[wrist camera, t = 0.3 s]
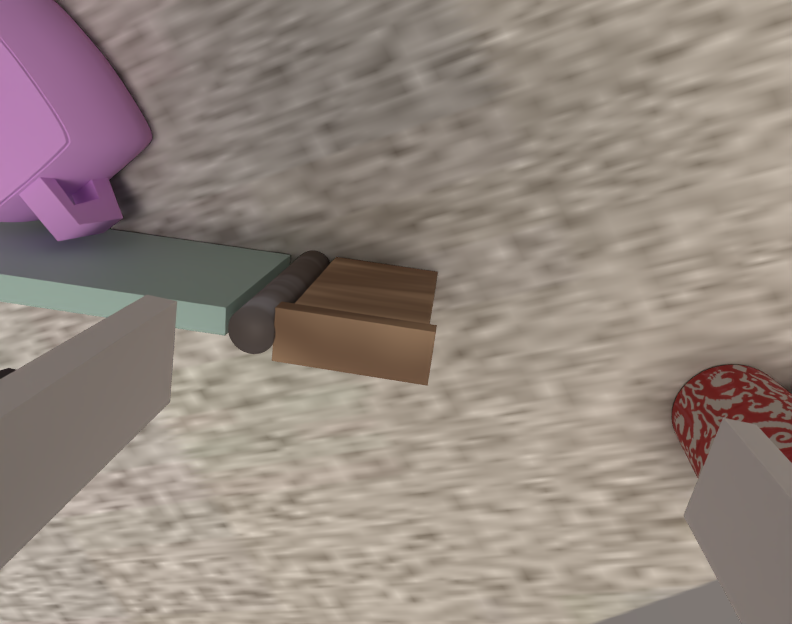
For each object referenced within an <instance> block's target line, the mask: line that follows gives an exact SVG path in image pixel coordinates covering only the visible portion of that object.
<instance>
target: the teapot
mask: <svg viewBox="0 0 792 624" xmlns="http://www.w3.org/2000/svg"><path fill="white" fill-rule="evenodd" d="M151 140H152V133H151V130H150V128H149V125H148V123H147V121H146V120H145V118H144V116H143V114H142V112H141V111H140V109H139V107H138V106H137V104H136V103H135V101H134V99H133V98H132V96H131V95H130V93H129V92H128V90H127V88H126V87H125V85H124V84H123V82H122V81H121V79H120V78H119V76H118V75H117V73H116V72H115V70H114V69H113V68H112V66H111V65H110V63H109V62H108V61H107V59H106V58H105V57H104V56H103V54H102V53H101V52H100V51H99V49H98V48H97V47H96V46H95V44H94V43H93V42H92V41H91V40H90V39H89V37H88V36H87V35H86V34H85V33H84V32H83V30H82V29H81V28H80V27H79V26H78V25H77V24H76V22H75V21H74V20H73V19H72V18H71V17H70V16H69V15H68V14H67V13H66V12H65V11H64V10H63V8H61V7H60V6H59V5H58V4H57V3H56V2H55V1H54V0H0V222H29V221H37V220H40V221H41V222H42V223H43V225H44V226H45V227H46V228H47V229H48V231H49V232H50V233H51V234H52V235H53V236H54V238H55V239H56V240H57V241H63V240H68V239H74V238H79V237H84V236H90V235H95V234H100V233H104V232H105V231H107V230H108V229H109V228H111V227H112V226H113V225H115V224H116V223H117V222H119V221H120V220H121V219H123V216H122V213H121V211H120V208H119V205H118V203H117V200H116V197H115V195H114V192H113V189H112V187H111V184H110V181H109V179H111V178H112V177H113V176H114V175H115V174H117V173H118V172H119V171H120V170H121V169H122V168H124V167H125V166H126V165H127V164H128V163H129V162H130V161H132V160H133V159H134V158H135V157H136V156H137V155H138V154H139V153H140V152H141V151H142V150H143V149H145V148H146V147H147V146H148V144H149V143H150V142H151Z"/></svg>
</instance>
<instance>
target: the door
mask: <svg viewBox="0 0 792 624" xmlns="http://www.w3.org/2000/svg"><path fill="white" fill-rule="evenodd" d="M289 265H290V255H288V254H281V253H273V252H266V251H259V250H252V249H245V248H238V247H231V246H224V245H217V244H210V243H203V242H196V241H189V240H182V239H175V238H168V237H161V236H154V235H147V234H140V233H133V232H126V231H119V230H112V229H108V230H107V231H105V232H104V233H100V234H95V235H90V236H84V237H79V238H74V239H68V240H63V241H57V240H56V239H55V238H54V236H53V235H52V234H51V233H50V232H49V231H48V229H47V228H46V227H45V226H44V225H43V223H42V222H41V221H40V220H37V221H29V222H0V301H1V302H7V303H14V304H21V305H27V306H34V307H40V308H47V309H53V310H60V311H67V312H73V313H80V314H86V315H93V316H100V317H106V318H107V317H109V316H110V315H112V314H114V313H116V312H117V311H119V310H121V309H123V308H124V307H126V306H128V305H129V304H131V303H133V302H135V301H136V300H138V299H140V298H142V297H143V296H145V295H151V296H156V297H160V298H165V299H170V300H175V301H177V311H176V325H175V328H178V329H185V330H192V331H198V332H205V333H211V334H218V335H226V334H227V333H228V324H229V320H230V318H231V317H232V315H233V314H234V313H235V312H236V311H238V310H239V309H240V308H241V307H242V306H243V305H244V304H246V303H247V302H248V301H249V300H250V299H251V298H253V297H254V296H255V295H256V294H257V293H258V292H259V291H261V290H262V289H263V288H264V287H265V286H266V285H267V284H269V283H270V282H271V281H272V280H273V279H274V278H276V277H277V276H278V275H279V274H280V273H281V272H282V271H284V270H285V269H286V268H287V267H288V266H289Z"/></svg>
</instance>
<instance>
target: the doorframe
mask: <svg viewBox="0 0 792 624" xmlns="http://www.w3.org/2000/svg"><path fill="white" fill-rule="evenodd" d="M437 274H438V272H435V271H429V270H422V269H415V268H408V267H402V266H395V265H388V264H381V263H374V262H368V261H361V260H354V259H347V258H341V257H336V258H335V259H334V260H333V261H332V262H331V263H330V262H329V260H328V259H327V257H326V256H325V255H324V254H322V253H320V252H318V251H307V252H305V253H303V254H302V255H301V256H300V257H298V258H297V259H296V260H295V261H294V262H293V263H292V264H290V265H289V266H288V267H287V268H286V269H285V270H284V271H282V272H281V273H280V274H279V275H278V276H277V277H276V278H274V279H273V280H272V281H271V282H270V283H269V284H267V285H266V286H265V287H264V288H263V289H262V290H261V291H259V292H258V293H257V294H256V295H255V296H254V297H253V298H251V299H250V300H249V301H248V302H247V303H246V304H244V305H243V306H242V307H241V308H240V309H239V310H238V311H236V312H235V313H234V314H233V315H232V317H231V318H230V320H229V324H228V333H229V336H230V339H231V340H232V342H233V343H234V345H235V346H236V347H238V348H239V349H240V350H242V351H244V352H247V353H250V354H258V353H262V352H265V351H266V350H268V349H269V348H270V347H271V346H272V345H273V352H272V361H277V362H283V363H290V364H296V365H302V366H308V367H315V368H321V369H327V370H333V371H340V372H346V373H352V374H358V375H365V376H371V377H377V378H384V379H390V380H396V381H402V382H409V383H415V384H421V385H427V386H428V379H429V373H430V366H431V360H432V353H433V347H434V340H435V334H436V327H437V325H431V324H430V318H431V313H432V307H433V301H434V294H435V288H436V281H437Z"/></svg>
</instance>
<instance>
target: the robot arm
mask: <svg viewBox="0 0 792 624" xmlns="http://www.w3.org/2000/svg"><path fill="white" fill-rule="evenodd" d="M176 311H177V301H175V300H170V299H165V298H160V297H156V296H151V295H145V296H143V297H142V298H140V299H138V300H136V301H135V302H133V303H131V304H129V305H128V306H126V307H124V308H123V309H121V310H119V311H117V312H116V313H114V314H112V315H110V316H109V317H107V318H105V319H104V320H102V321H100V322H98V323H97V324H95V325H93V326H91V327H90V328H88V329H86V330H85V331H83V332H81V333H79V334H78V335H76V336H74V337H72V338H71V339H69V340H67V341H66V342H64V343H62V344H60V345H59V346H57V347H55V348H53V349H52V350H50V351H48V352H47V353H45V354H43V355H41V356H40V357H38V358H36V359H34V360H33V361H31V362H29V363H27V364H26V365H24V366H22V367H21V368H19V369H17V370H15V369H11V368H7V369H4V370H0V569H1V568H2V567H3V566H4V565H5V564H6V563H7V562H9V561H10V560H11V559H12V558H13V557H14V556H15V555H16V554H17V553H18V552H19V551H20V550H21V549H22V548H23V547H24V546H25V545H26V544H27V543H28V542H29V541H30V540H31V539H32V538H33V537H34V536H35V535H36V534H37V533H38V532H39V531H40V530H41V529H42V528H43V527H44V526H45V525H46V524H47V523H48V522H49V521H50V520H51V519H52V518H53V517H54V516H55V515H56V514H57V513H58V512H59V511H60V510H61V509H62V508H63V507H64V506H65V505H66V504H67V503H68V502H69V501H70V500H71V499H72V498H73V497H74V496H75V495H76V494H77V493H78V492H79V491H80V490H81V489H82V488H83V487H84V486H86V485H87V484H88V483H89V482H90V481H91V480H92V479H93V478H94V477H95V476H96V475H97V474H98V473H99V472H100V471H101V470H102V469H103V468H104V467H105V466H106V465H107V464H108V463H109V462H110V461H111V460H112V459H113V458H114V457H115V456H116V455H117V454H118V453H119V452H120V451H121V450H122V449H123V448H124V447H125V446H126V445H127V444H128V443H129V442H130V441H131V440H132V439H133V438H134V437H135V436H136V435H137V434H138V433H139V432H140V431H141V430H142V429H143V428H144V427H145V426H146V425H147V424H148V423H149V422H150V421H151V420H152V419H153V418H154V417H155V416H156V415H157V414H158V413H159V412H160V411H161V410H163V409H164V408H165V407H166V406H167V405H168V404H169V403H170V396H171V382H172V368H173V354H174V340H175V325H176ZM684 517H685V519H686V521H687V523H688V525H689V527H690V529H691V530H692V532H693V534H694V536H695V538H696V540H697V542H698V544H699V545H700V547H701V549H702V551H703V553H704V555H705V557H706V558H707V560H708V562H709V564H710V566H711V568H712V570H713V572H714V573H715V575H716V577H717V579H718V581H719V583H720V585H721V586H722V588H723V590H724V592H725V594H726V596H727V598H728V599H729V601H730V603H731V605H732V607H733V609H734V611H735V612H736V614H737V616H738V618H739V620H740V622H741V624H792V463H791V462H790V461H789V460H788V459H787V457H786V456H785V455H784V454H783V453H782V452H781V451H780V450H779V449H778V448H777V447H776V446H775V444H774V443H773V442H772V441H771V440H770V439H769V438H768V437H767V436H766V435H765V434H764V432H763V431H762V430H761V429H760V428H759V427H758V426H757V425H755V424H751V423H746V422H741V421H737V420H732V419H727V418H723V419H722V422H721V424H720V427H719V429H718V432H717V434H716V437H715V439H714V441H713V444H712V446H711V449H710V451H709V454H708V456H707V459H706V461H705V464H704V466H703V469H702V471H701V474H700V476H699V478H698V481H697V483H696V486H695V488H694V491H693V493H692V496H691V498H690V501H689V503H688V506H687V508H686V511H685V513H684Z"/></svg>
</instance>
